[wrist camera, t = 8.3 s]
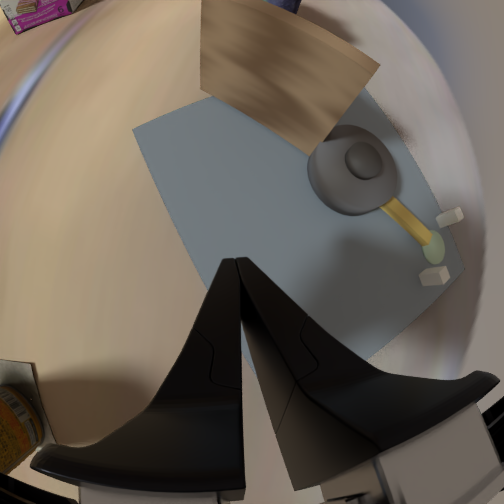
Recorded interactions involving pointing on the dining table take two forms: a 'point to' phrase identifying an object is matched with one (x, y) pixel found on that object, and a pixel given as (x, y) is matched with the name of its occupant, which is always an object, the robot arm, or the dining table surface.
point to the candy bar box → (35, 12)
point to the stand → (300, 220)
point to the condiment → (20, 416)
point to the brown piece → (302, 100)
